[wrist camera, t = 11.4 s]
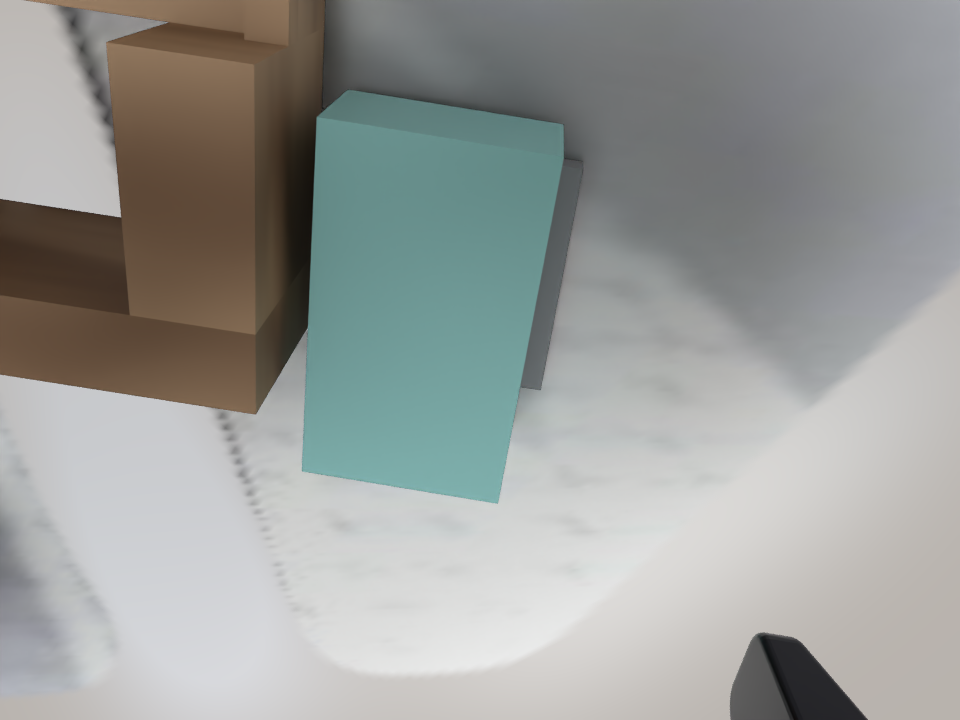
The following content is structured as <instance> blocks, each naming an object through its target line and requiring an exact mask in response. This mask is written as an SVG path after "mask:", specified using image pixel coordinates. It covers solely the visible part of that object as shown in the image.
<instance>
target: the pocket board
mask: <svg viewBox="0 0 960 720" xmlns="http://www.w3.org/2000/svg"><path fill="white" fill-rule="evenodd" d="M26 1H33V2H40V3H46V4H53V5H59V6H66V7H73V8H79V9H86V10H93V11H99V12H106V13H113V14H119V15H126V16H132V17H139V18H146V19H152V20H159V21H166V22H169V23H166V24H163V25H160V26H156V27H153V28H150V29H147V30H144V31H140V32H137V33H134V34H131V35H128V36H124V37H121V38H118V39H115V40H112V41H108V42H106V46H107V58H108V69H109V81H110V92H111V104H112V115H113V127H114V138H115V150H116V161H117V173H118V184H119V196H120V208H121V218H120V217H114V216H107V215H100V214H94V213H88V212H81V211H75V210H68V209H62V208H55V207H49V206H42V205H35V204H29V203H23V202H16V201H9V200H3V199H0V374H1V375H7V376H14V377H20V378H26V379H33V380H40V381H45V382H52V383H58V384H64V385H71V386H77V387H84V388H90V389H97V390H103V391H109V392H115V393H122V394H128V395H135V396H141V397H147V398H154V399H161V400H167V401H173V402H179V403H186V404H192V405H199V406H205V407H211V408H218V409H224V410H231V411H237V412H243V413H250V414H256V413H257V411H258V410H259V408H260V406H261V405H262V403H263V401H264V400H265V398H266V396H267V395H268V393H269V391H270V390H271V388H272V386H273V385H274V383H275V381H276V379H277V378H278V376H279V374H280V373H281V371H282V369H283V368H284V366H285V364H286V363H287V361H288V359H289V358H290V356H291V354H292V353H293V351H294V349H295V348H296V346H297V344H298V343H299V341H300V339H301V337H302V336H303V334H304V332H305V331H306V329H307V327H308V315H309V291H310V267H311V243H312V220H313V196H314V172H315V148H316V125H317V116H319V115H320V114H321V110H322V81H323V52H324V23H325V0H26Z"/></svg>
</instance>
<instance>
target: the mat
mask: <svg viewBox="0 0 960 720" xmlns="http://www.w3.org/2000/svg"><path fill="white" fill-rule="evenodd" d="M582 173H583V161H576V160H570V159H563V164H562V169H561V175H560V180H559V185H558V190H557V196H556V201H555V206H554V211H553V217H552V222H551V227H550V232H549V238H548V243H547V248H546V253H545V259H544V264H543V269H542V274H541V280H540V285H539V290H538V295H537V301H536V306H535V311H534V316H533V322H532V327H531V332H530V337H529V343H528V348H527V353H526V359H525V364H524V369H523V374H522V380H521V385H520V387H523V388H530V389H536V390H541V385H542V380H543V375H544V370H545V365H546V359H547V354H548V349H549V344H550V339H551V333H552V328H553V323H554V318H555V313H556V307H557V302H558V297H559V292H560V287H561V282H562V276H563V271H564V266H565V261H566V256H567V250H568V245H569V240H570V235H571V230H572V224H573V219H574V214H575V209H576V204H577V199H578V193H579V188H580V183H581V178H582Z"/></svg>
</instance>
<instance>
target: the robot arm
mask: <svg viewBox="0 0 960 720" xmlns="http://www.w3.org/2000/svg"><path fill="white" fill-rule="evenodd" d="M730 717H731V720H868V719H867V718H866V717H865V716H864V715H863V713H862V712H861V711H860V710H859V709H858V708H857V707H856V705H855V704H854V703H853V702H852V701H851V699H850V698H849V697H848V696H847V695H846V694H845V692H843V690H842V689H841V688H840V687H839V685H838V684H837V683H836V682H835V681H834V680H833V679H832V677H831V676H830V675H829V674H828V673H827V672H826V670H825V669H824V668H823V667H822V666H821V665H820V663H819V662H818V661H817V660H816V659H815V658H814V656H812V654H811V653H810V652H809V651H808V650H807V648H806V647H805V646H804V645H803V644H802V643H801V642H800V641H798V640H797V639H795V638H792V637H788V636H782V635H775V634H769V633H758V634H756V635H755V636H754V637H753V638H752V640H751V642H750V644H749V646H748V649H747V651H746V654H745V656H744V658H743V661H742V663H741V666H740V668H739V671H738V673H737V675H736V678H735V680H734V683H733V686H732V690H731V696H730Z"/></svg>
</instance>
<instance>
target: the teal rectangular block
mask: <svg viewBox="0 0 960 720" xmlns="http://www.w3.org/2000/svg"><path fill="white" fill-rule="evenodd" d="M563 159H564V124H558V123H552V122H546V121H540V120H534V119H527V118H521V117H515V116H509V115H503V114H497V113H490V112H484V111H478V110H472V109H466V108H460V107H453V106H447V105H441V104H435V103H429V102H422V101H416V100H410V99H404V98H398V97H392V96H385V95H379V94H373V93H367V92H361V91H354V90H347V91H346V92H344V93H343V94H342V95H341V96H340V97H339V98H338V99H337V100H335V101H334V102H333V103H332V104H331V105H330V106H329V107H328V108H326V109H325V110H324V111H323V112H322V113H321V114H320V115H319V116H317V125H316V148H315V172H314V196H313V220H312V243H311V267H310V291H309V315H308V339H307V362H306V386H305V410H304V434H303V457H302V471H303V472H309V473H315V474H321V475H327V476H334V477H340V478H346V479H352V480H358V481H364V482H370V483H376V484H382V485H388V486H394V487H400V488H406V489H412V490H418V491H424V492H430V493H436V494H442V495H448V496H454V497H461V498H467V499H473V500H479V501H485V502H491V503H497V504H498V500H499V495H500V490H501V485H502V479H503V474H504V469H505V464H506V458H507V453H508V448H509V443H510V437H511V432H512V427H513V422H514V416H515V411H516V406H517V401H518V395H519V390H520V385H521V380H522V374H523V369H524V364H525V359H526V353H527V348H528V343H529V337H530V332H531V327H532V322H533V316H534V311H535V306H536V301H537V295H538V290H539V285H540V280H541V274H542V269H543V264H544V259H545V253H546V248H547V243H548V238H549V232H550V227H551V222H552V217H553V211H554V206H555V201H556V196H557V190H558V185H559V180H560V175H561V169H562V164H563Z"/></svg>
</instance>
